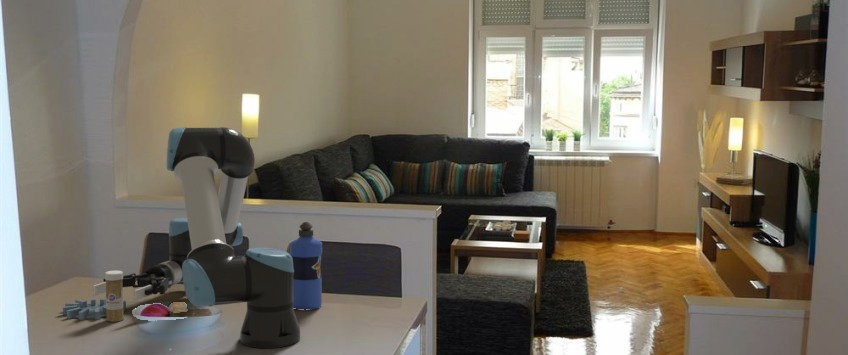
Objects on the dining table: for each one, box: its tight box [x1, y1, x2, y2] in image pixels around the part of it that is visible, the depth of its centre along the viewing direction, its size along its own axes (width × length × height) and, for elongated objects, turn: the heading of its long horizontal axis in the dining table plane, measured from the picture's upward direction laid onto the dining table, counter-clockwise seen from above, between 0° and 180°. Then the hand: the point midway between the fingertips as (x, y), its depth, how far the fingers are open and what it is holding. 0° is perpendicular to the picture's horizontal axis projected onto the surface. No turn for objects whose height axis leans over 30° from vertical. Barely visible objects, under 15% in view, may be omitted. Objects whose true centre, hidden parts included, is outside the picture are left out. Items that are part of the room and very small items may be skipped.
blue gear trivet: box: [62, 296, 127, 321], centre depth 227 cm, size 16×16×2 cm
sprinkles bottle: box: [104, 270, 124, 323], centre depth 219 cm, size 5×5×14 cm
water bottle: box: [289, 221, 323, 310], centre depth 235 cm, size 9×9×25 cm
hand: (114, 293), depth 219 cm, fingers open, 13 cm apart
